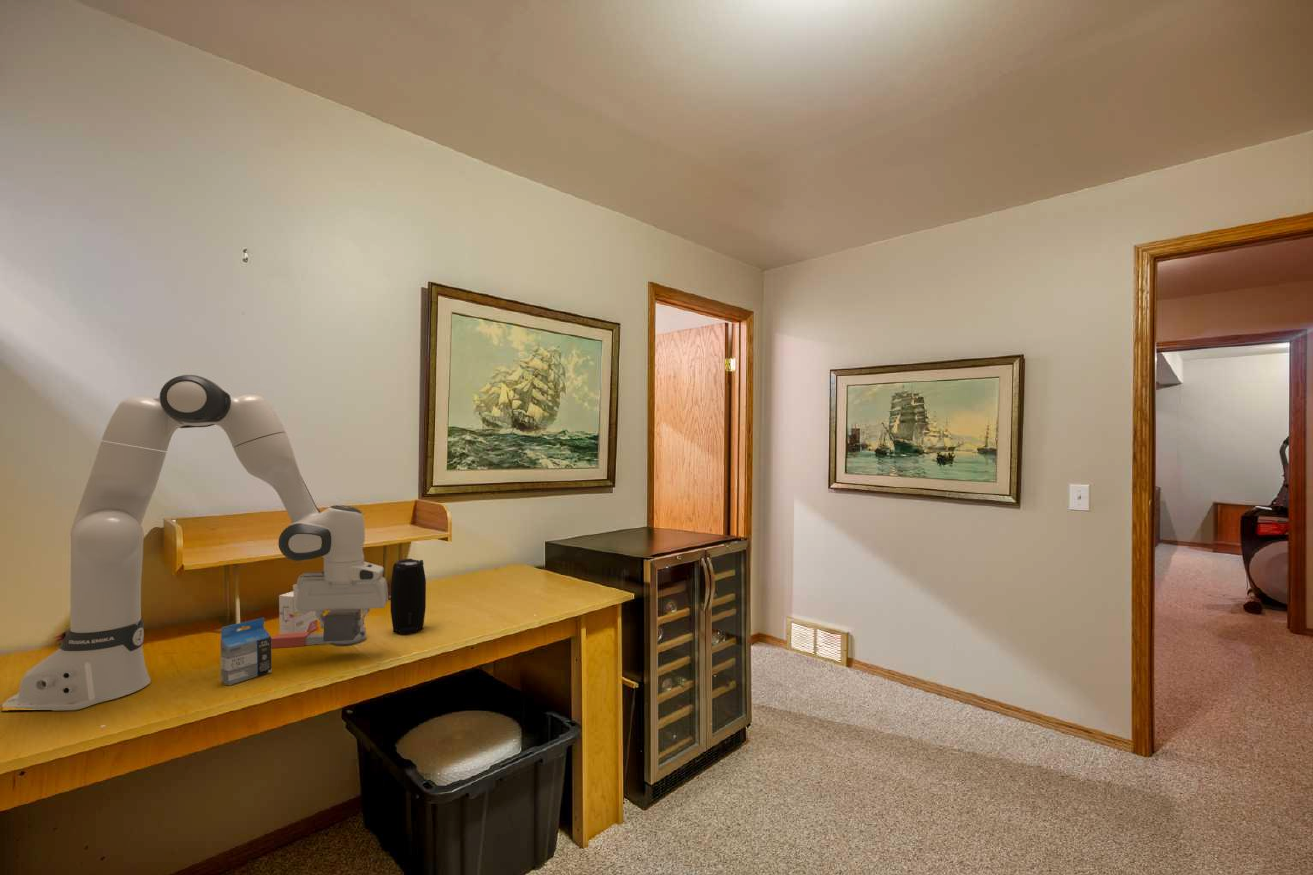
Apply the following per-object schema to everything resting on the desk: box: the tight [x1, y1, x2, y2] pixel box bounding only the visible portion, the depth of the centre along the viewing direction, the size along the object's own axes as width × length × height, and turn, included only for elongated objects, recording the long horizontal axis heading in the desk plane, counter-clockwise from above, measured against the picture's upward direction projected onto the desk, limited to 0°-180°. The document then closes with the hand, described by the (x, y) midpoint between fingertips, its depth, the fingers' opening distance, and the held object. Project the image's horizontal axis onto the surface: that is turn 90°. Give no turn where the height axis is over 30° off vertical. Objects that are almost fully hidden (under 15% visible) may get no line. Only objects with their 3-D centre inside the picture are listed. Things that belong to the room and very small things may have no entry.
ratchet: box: [271, 626, 367, 649], centre depth 155 cm, size 22×8×6 cm, turn 104°
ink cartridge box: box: [278, 583, 319, 634], centre depth 162 cm, size 9×5×15 cm, turn 168°
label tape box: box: [220, 617, 273, 686], centre depth 132 cm, size 9×4×12 cm, turn 147°
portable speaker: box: [390, 558, 427, 636], centre depth 165 cm, size 9×9×20 cm
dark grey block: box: [323, 609, 362, 642], centre depth 145 cm, size 7×7×6 cm
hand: (342, 626), depth 145 cm, fingers closed on dark grey block, 7 cm apart
